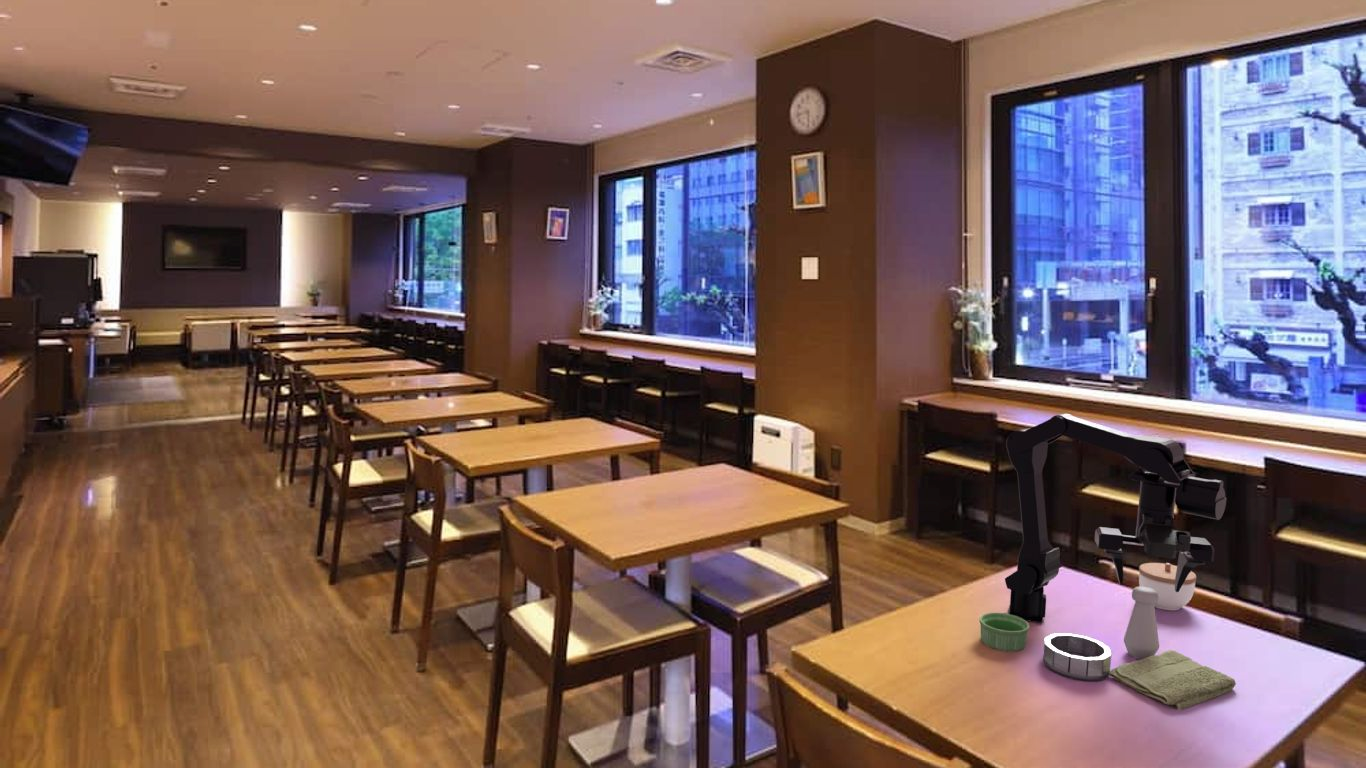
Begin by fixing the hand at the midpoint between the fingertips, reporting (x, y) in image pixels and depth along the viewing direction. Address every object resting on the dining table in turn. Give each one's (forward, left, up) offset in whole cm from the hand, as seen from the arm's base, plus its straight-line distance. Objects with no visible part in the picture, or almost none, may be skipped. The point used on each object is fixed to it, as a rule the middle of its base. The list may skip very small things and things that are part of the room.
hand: (1148, 587), depth 152 cm
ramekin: (-24, -6, -13) cm, 28 cm away
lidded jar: (+8, +29, -13) cm, 33 cm away
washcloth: (+3, -12, -14) cm, 18 cm away
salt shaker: (0, -1, -13) cm, 13 cm away
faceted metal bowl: (-12, -11, -13) cm, 21 cm away
